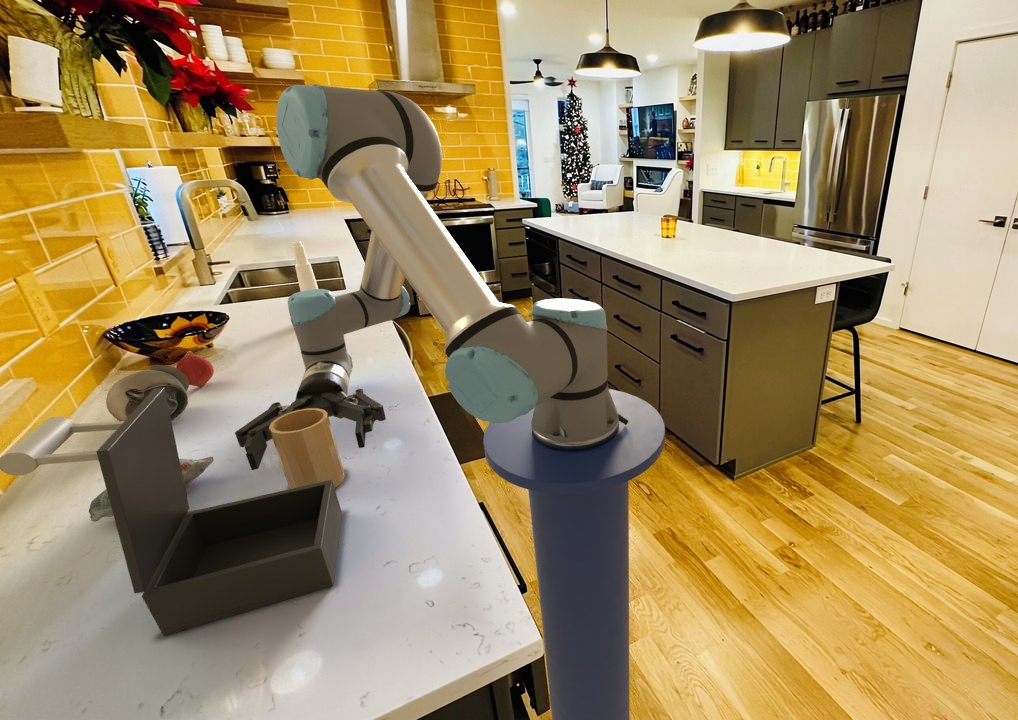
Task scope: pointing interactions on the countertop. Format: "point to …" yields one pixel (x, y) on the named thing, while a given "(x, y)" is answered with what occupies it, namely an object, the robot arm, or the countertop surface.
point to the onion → (195, 369)
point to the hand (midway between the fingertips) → (307, 450)
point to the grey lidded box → (246, 556)
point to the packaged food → (190, 472)
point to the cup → (307, 448)
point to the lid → (123, 477)
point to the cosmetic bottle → (303, 268)
